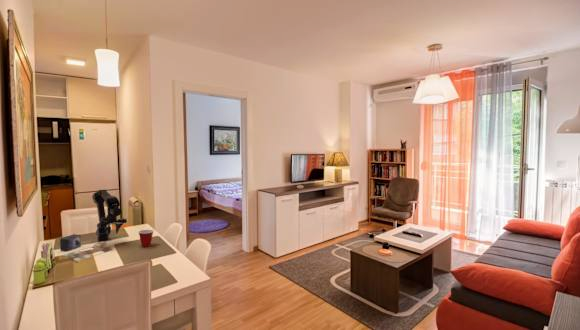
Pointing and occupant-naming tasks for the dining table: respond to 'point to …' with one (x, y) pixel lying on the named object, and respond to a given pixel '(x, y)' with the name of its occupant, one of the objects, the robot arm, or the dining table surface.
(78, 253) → the trap deck
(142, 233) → the plastic cup
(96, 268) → the dining table surface
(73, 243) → the small box
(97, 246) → the maple block
